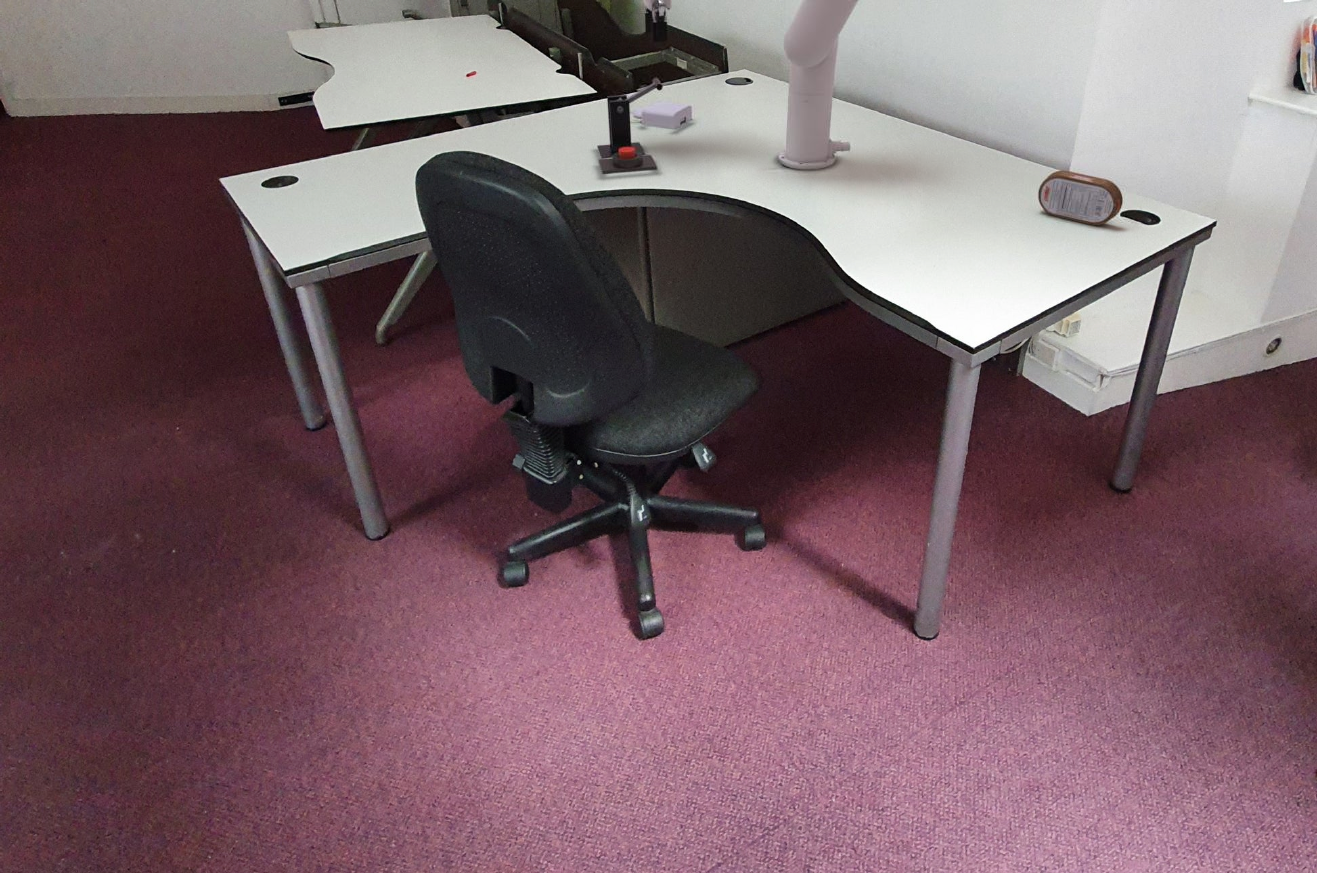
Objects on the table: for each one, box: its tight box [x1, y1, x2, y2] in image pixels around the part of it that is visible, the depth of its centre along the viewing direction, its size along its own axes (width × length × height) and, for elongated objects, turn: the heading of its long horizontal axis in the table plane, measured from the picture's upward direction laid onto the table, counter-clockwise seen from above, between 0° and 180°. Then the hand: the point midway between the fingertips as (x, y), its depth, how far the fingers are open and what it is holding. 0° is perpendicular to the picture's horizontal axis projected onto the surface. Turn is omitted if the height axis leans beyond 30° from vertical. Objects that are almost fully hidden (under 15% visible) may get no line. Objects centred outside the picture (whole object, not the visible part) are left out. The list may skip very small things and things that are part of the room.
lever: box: [617, 77, 664, 104], centre depth 211 cm, size 12×6×2 cm, turn 99°
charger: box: [630, 101, 693, 130], centre depth 235 cm, size 5×9×15 cm
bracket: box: [597, 94, 646, 159], centre depth 214 cm, size 10×9×13 cm
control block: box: [598, 151, 658, 175], centre depth 208 cm, size 12×8×4 cm, turn 99°
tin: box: [1037, 169, 1124, 226], centre depth 176 cm, size 15×3×8 cm, turn 48°
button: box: [619, 147, 635, 159], centre depth 206 cm, size 4×4×2 cm
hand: (656, 36), depth 205 cm, fingers open, 9 cm apart
